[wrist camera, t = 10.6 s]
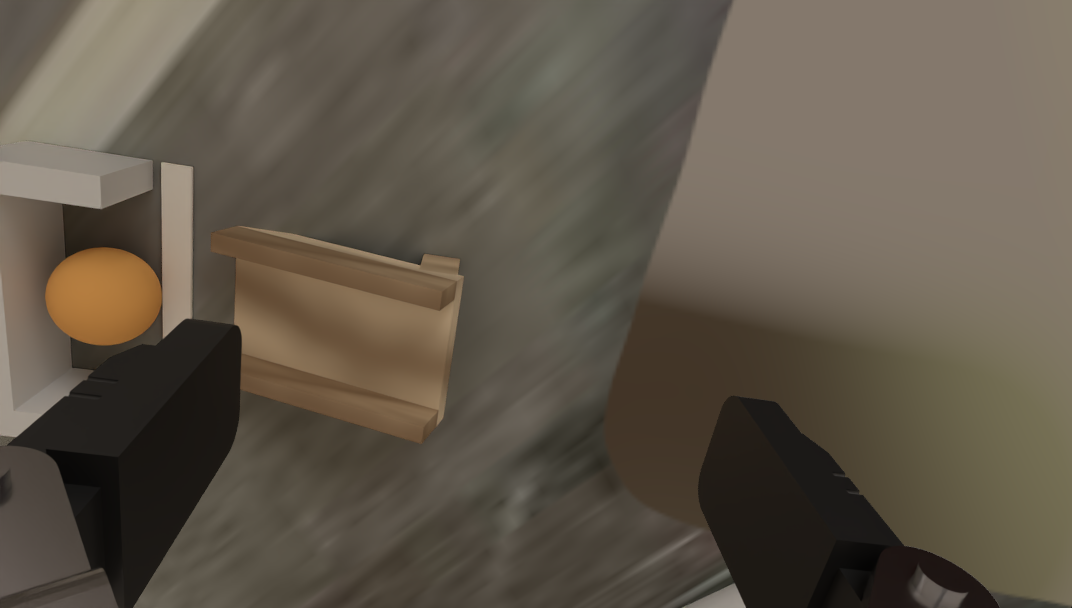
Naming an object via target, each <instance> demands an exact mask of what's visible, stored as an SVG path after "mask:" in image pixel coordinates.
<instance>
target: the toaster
mask: <svg viewBox="0 0 1072 608" xmlns="http://www.w3.org/2000/svg"><path fill="white" fill-rule="evenodd" d="M682 608H746V607H745V605H744V603H743V600H742V598H741V596H740V594H739V592H738V589H737V587H736V585H735V583H734V584H732V585H729V586H727V587H725V588H723V589H721V590H719V591H717V592H714V593H712V594H710V595H708V596H706V597H704V598H702V599H699V600H697V601H695V602H693V603H691V604H689V605H687V606H684V607H682Z"/></svg>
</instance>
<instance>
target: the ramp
mask: <svg viewBox="0 0 1072 608" xmlns="http://www.w3.org/2000/svg"><path fill="white" fill-rule="evenodd" d="M211 252H215V253H219V254H223V255H227V256H230V257H234V258H236V282H235V317H234V325H237V326H239V328H240V330H241V335H242V354H241V383H240V390H244V391H247V392H250V393H254V394H257V395H260V396H264V397H267V398H270V399H274V400H277V401H280V402H284V403H287V404H290V405H293V406H297V407H300V408H303V409H307V410H310V411H313V412H317V413H320V414H323V415H327V416H330V417H333V418H337V419H340V420H343V421H347V422H350V423H353V424H357V425H360V426H363V427H367V428H370V429H373V430H377V431H380V432H383V433H387V434H390V435H393V436H397V437H400V438H403V439H407V440H410V441H413V442H417V443H420V444H422V443H423V441H424V440H425V439H426V438H427V437H428V436H429V434H430V433H431V432H432V431H433V430H434V429H435V427H436V426H437V425H438V424H439V423H440V421H441V420H442V419H443V416H444V409H445V402H446V395H447V388H448V382H449V375H450V368H451V361H452V354H453V347H454V341H455V334H456V327H457V320H458V313H459V307H460V300H461V293H462V286H463V279H464V276H461V275H458V271H459V263H460V259H457V258H450V257H443V256H437V255H430V254H424V256H423V259H422V262H421V265H417V264H413V263H409V262H405V261H400V260H396V259H392V258H388V257H384V256H380V255H376V254H372V253H368V252H364V251H360V250H356V249H352V248H348V247H344V246H340V245H336V244H332V243H328V242H324V241H320V240H316V239H312V238H308V237H304V236H300V235H296V234H290V233H284V232H277V231H270V230H263V229H257V228H250V227H243V226H235V227H231V228H227V229H223V230H219V231H215V232H212V233H211Z"/></svg>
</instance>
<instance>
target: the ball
mask: <svg viewBox="0 0 1072 608" xmlns="http://www.w3.org/2000/svg"><path fill="white" fill-rule="evenodd" d="M45 300H46V306H47V310H48V312H49V315H50V316H51V318H52V320H53V321H54V323H55V324H56V325H57V326H58V327H59V328H60V329H61V330H62V331H63V332H64V333H66V334H67V335H69V336H71V337H72V338H74V339H76V340H79V341H81V342H84V343H88V344H94V345H115V344H120V343H123V342H126V341H129V340H131V339H134V338H135V337H137V336H139V335H140V334H142V333H143V332H144V331H146V330H147V329H148V328H149V327H150V326H151V325H152V323H153V322H154V321H155V319H156V317H157V316H158V313H159V311H160V308H161V303H162V290H161V286H160V282H159V280H158V278H157V276H156V274H155V272H154V271H153V270H152V268H151V267H150V266H149V265H148V264H147V263H146V262H145V261H143V260H142V259H141V258H139V257H137V256H136V255H134V254H132V253H129V252H127V251H124V250H121V249H116V248H109V247H99V248H90V249H86V250H83V251H80V252H77V253H75V254H73V255H71V256H69V257H68V258H66V259H65V260H63V261H62V262H61V263H60V264H59V265H58V266H57V267H56V268H55V270H54V271H53V272H52V274H51V276H50V278H49V280H48V283H47V286H46V291H45Z"/></svg>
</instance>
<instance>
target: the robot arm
mask: <svg viewBox="0 0 1072 608" xmlns="http://www.w3.org/2000/svg"><path fill="white" fill-rule="evenodd" d="M241 354H242V335H241V330H240V328H239V326H237V325H231V324H224V323H217V322H210V321H203V320H196V319H188V318H187V319H184V320H183V321H182V322H181V323H180V324H178V325H177V326H176V327H175V328H174V329H173V330H172V331H171V332H170V333H169V334H168V335H167V336H166V337H165V338H164V339H162V340H161V341H160V342H159V343H158V344H157V345H156V346H153V345H145V344H142V345H139V346H137V347H134V348H132V349H130V350H127V351H125V352H122V353H120V354H117V355H115V356H113V357H110V358H109V359H107V360H106V361H105V362H104V363H103V364H102V365H100V366H99V367H98V368H97V369H96V370H95V371H93V372H92V373H91V374H90V375H89V376H88V379H87V380H83V381H82V382H80V383H79V384H78V385H77V386H76V387H75V388H73V389H72V390H71V391H70V393H69V396H64V397H63V398H62V399H61V400H59V401H58V402H57V403H56V404H55V405H53V406H52V407H51V408H50V409H49V410H48V411H46V412H45V413H44V414H43V415H42V416H41V417H39V418H38V419H37V420H36V421H35V422H34V423H32V424H31V425H30V426H29V427H28V428H27V429H25V430H24V431H23V432H22V433H21V434H19V435H18V436H17V437H16V438H15V439H14V440H12V441H11V442H10V443H9V444H8V445H7V446H0V608H133V607H134V605H135V603H136V602H137V600H138V598H139V597H140V595H141V594H142V592H143V590H144V589H145V587H146V586H147V584H148V582H149V581H150V579H151V577H152V576H153V574H154V573H155V571H156V569H157V568H158V566H159V565H160V563H161V561H162V560H163V558H164V557H165V555H166V553H167V552H168V550H169V548H170V547H171V545H172V544H173V542H174V540H175V539H176V537H177V536H178V534H179V532H180V531H181V529H182V527H183V526H184V524H185V523H186V521H187V519H188V518H189V516H190V515H191V513H192V511H193V510H194V508H195V506H196V505H197V503H198V502H199V500H200V498H201V497H202V495H203V494H204V492H205V490H206V489H207V487H208V486H209V484H210V482H211V481H212V479H213V477H214V476H215V474H216V473H217V471H218V469H219V468H220V466H221V465H222V463H223V461H224V460H225V458H226V456H227V455H228V453H229V451H230V449H231V447H232V444H233V442H234V439H235V435H236V431H237V427H238V421H239V411H240V383H241ZM698 495H699V502H700V507H701V509H702V512H703V514H704V516H705V518H706V521H707V523H708V525H709V527H710V530H711V532H712V534H713V536H714V538H715V541H716V543H717V545H718V547H719V549H720V552H721V554H722V556H723V558H724V561H725V563H726V565H727V567H728V569H729V572H730V574H731V576H732V578H733V580H734V583H735V585H736V587H737V589H738V592H739V594H740V596H741V598H742V600H743V603H744V605H745V607H746V608H1000V607H999V605H998V603H997V601H996V600H995V598H994V597H993V596H992V594H991V593H990V592H989V591H988V590H987V589H986V588H985V587H984V586H983V585H982V584H981V583H980V582H979V581H978V580H977V579H975V578H974V577H973V576H972V575H970V574H969V573H968V572H966V571H965V570H963V569H962V568H960V567H959V566H957V565H955V564H954V563H952V562H950V561H948V560H946V559H944V558H942V557H940V556H938V555H936V554H933V553H931V552H928V551H925V550H922V549H918V548H914V547H909V546H904V545H903V544H902V542H901V541H900V540H899V539H898V537H897V536H896V535H895V534H894V533H893V531H892V530H891V529H890V528H889V526H888V525H887V524H886V523H885V522H884V520H883V519H882V518H881V517H880V515H879V514H878V513H877V512H876V511H875V509H874V508H873V507H872V506H871V505H870V503H869V502H868V501H867V500H866V498H865V497H864V496H863V495H859V490H858V488H857V487H856V486H855V485H854V484H853V482H852V481H851V480H850V479H849V478H848V477H845V473H844V471H843V470H842V469H841V468H840V466H839V465H838V464H837V463H836V462H835V460H834V459H833V458H832V457H831V456H830V454H829V453H828V452H826V451H825V450H824V449H823V448H821V447H820V446H818V445H817V444H816V443H814V442H813V441H812V440H810V439H809V438H808V437H806V436H805V435H804V434H802V433H801V432H800V431H799V430H798V428H797V427H796V426H795V425H794V424H793V422H792V421H791V420H790V418H789V417H788V416H787V414H786V413H785V412H784V411H783V409H782V408H781V407H780V406H779V405H778V404H777V403H776V402H774V401H767V400H760V399H753V398H745V397H739V396H731V397H729V398H728V399H727V400H726V401H725V402H724V404H723V406H722V409H721V411H720V414H719V417H718V420H717V424H716V427H715V430H714V433H713V435H712V438H711V442H710V444H709V447H708V451H707V454H706V457H705V460H704V463H703V465H702V468H701V472H700V476H699V484H698ZM1071 608H1072V607H1071Z"/></svg>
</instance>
